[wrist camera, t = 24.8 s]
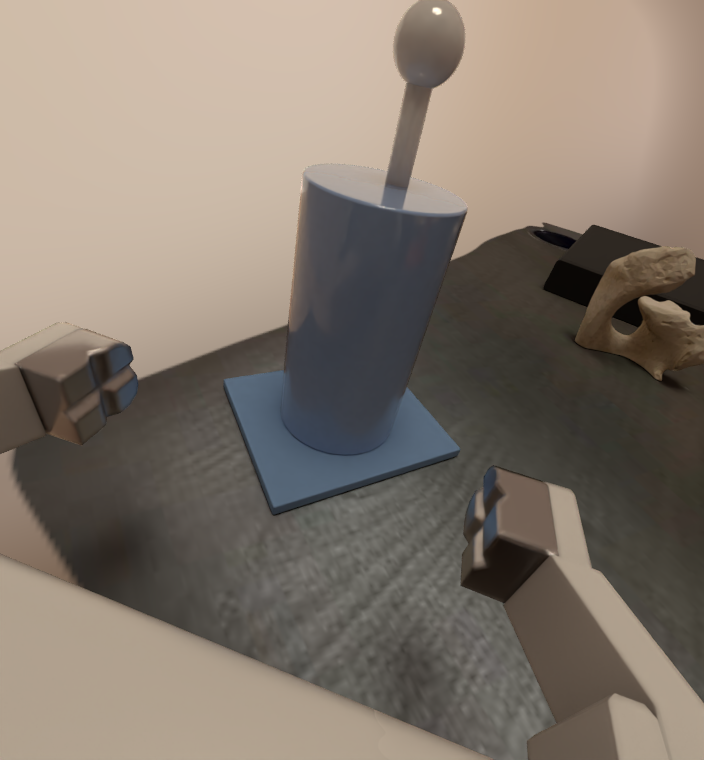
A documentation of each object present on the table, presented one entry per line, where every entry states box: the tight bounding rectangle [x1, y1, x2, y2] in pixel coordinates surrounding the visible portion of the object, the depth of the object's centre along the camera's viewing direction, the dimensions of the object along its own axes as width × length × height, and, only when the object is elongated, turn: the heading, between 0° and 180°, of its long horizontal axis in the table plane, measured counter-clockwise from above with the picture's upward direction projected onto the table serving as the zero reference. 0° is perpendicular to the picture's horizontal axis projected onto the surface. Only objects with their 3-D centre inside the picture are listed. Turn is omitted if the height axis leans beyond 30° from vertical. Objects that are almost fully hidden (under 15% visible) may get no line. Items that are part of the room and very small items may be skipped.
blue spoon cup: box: [280, 0, 468, 455], centre depth 14 cm, size 5×5×15 cm
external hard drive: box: [544, 225, 704, 327], centre depth 43 cm, size 14×23×3 cm, turn 145°
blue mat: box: [224, 370, 460, 515], centre depth 19 cm, size 9×8×1 cm
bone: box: [575, 246, 704, 381], centre depth 28 cm, size 9×6×10 cm
